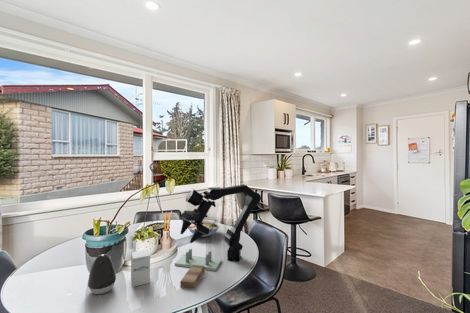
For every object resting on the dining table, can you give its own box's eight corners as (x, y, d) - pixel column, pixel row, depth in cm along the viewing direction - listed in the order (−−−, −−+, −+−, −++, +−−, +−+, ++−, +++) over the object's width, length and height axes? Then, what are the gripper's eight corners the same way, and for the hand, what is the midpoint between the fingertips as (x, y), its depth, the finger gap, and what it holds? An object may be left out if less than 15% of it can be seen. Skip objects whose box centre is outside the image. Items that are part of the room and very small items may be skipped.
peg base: (221, 261, 124) (221, 250, 124) (215, 270, 115) (215, 258, 115) (183, 256, 129) (183, 246, 129) (174, 265, 120) (174, 253, 120)
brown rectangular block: (192, 270, 116) (192, 264, 116) (204, 271, 115) (204, 265, 115) (180, 288, 101) (180, 281, 101) (193, 289, 100) (193, 282, 100)
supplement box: (132, 287, 100) (132, 258, 100) (130, 279, 107) (130, 251, 106) (150, 283, 103) (150, 255, 103) (148, 275, 110) (148, 248, 110)
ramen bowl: (193, 228, 177) (193, 217, 177) (223, 230, 174) (223, 219, 173) (181, 241, 152) (181, 228, 152) (215, 243, 149) (215, 230, 149)
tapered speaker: (85, 301, 91) (85, 262, 91) (90, 286, 100) (90, 251, 100) (115, 294, 95) (115, 258, 95) (116, 281, 105) (116, 248, 104)
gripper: (182, 198, 121) (165, 225, 117) (202, 212, 107) (183, 243, 104) (196, 205, 128) (180, 231, 125) (217, 219, 115) (200, 249, 111)
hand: (185, 238), depth 116 cm, fingers open, 9 cm apart
